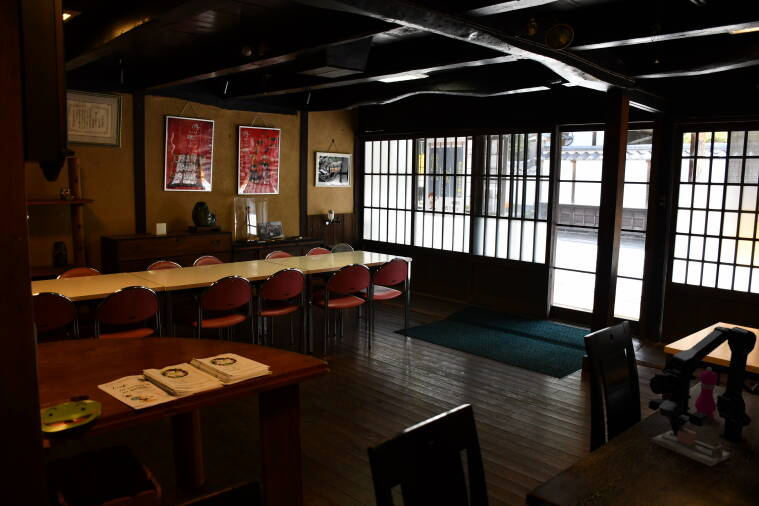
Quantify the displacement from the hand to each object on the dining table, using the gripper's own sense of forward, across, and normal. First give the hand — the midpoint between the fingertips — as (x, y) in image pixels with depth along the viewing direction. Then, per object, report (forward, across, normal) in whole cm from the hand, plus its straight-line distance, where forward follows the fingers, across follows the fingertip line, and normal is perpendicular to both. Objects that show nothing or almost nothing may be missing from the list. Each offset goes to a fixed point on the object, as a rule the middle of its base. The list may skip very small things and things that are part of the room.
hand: (675, 435), depth 203 cm
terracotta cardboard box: (+1, +4, 0) cm, 4 cm away
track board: (+3, +5, 0) cm, 6 cm away
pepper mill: (+3, -7, +33) cm, 34 cm away
